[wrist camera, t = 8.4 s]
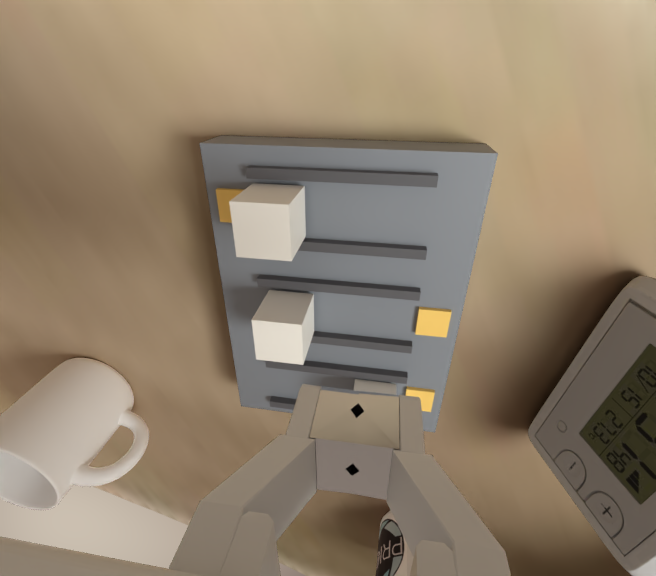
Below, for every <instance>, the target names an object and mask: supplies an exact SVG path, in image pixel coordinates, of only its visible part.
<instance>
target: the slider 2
mask: <svg viewBox="0 0 656 576" xmlns="http://www.w3.org/2000/svg"><path fill="white" fill-rule="evenodd" d="M252 329H253V337H254V346H255V354H256V360H265V361H273V362H282V363H290V364H299V365H303V364H304V361H305V358H306V355H307V352H308V349H309V346H310V343H311V340H312V337H313V333H314V294H310V293H298V292H287V291H276V290H269V291H268V293H267V295H266V296H265V298H264V300H263V301H262V303H261V305H260V306H259V308H258V310H257V311H256V313H255V315H254V316H253V318H252Z"/></svg>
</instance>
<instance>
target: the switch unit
mask: <svg viewBox="0 0 656 576" xmlns="http://www.w3.org/2000/svg"><path fill="white" fill-rule="evenodd" d="M200 149H201V155H202V162H203V168H204V174H205V181H206V187H207V193H208V200H209V206H210V212H211V219H212V225H213V231H214V238H215V244H216V250H217V257H218V263H219V269H220V276H221V282H222V288H223V295H224V301H225V307H226V314H227V320H228V326H229V333H230V339H231V345H232V352H233V358H234V364H235V370H236V377H237V383H238V389H239V396H240V402H241V406H244V407H251V408H259V409H266V410H273V411H281V412H288V413H293V409H294V406H295V403H296V400H297V397H298V393H299V390H300V388H301V386H302V385H303V384H308V385H315V386H325V387H332V388H340V389H347V390H354V383H355V379H359V380H367V381H376V382H384V383H392V384H396V395H398V396H399V395H404V396H414V397H419V398H420V400H421V409H422V421H423V431H429V432H435V430H436V426H437V421H438V417H439V413H440V408H441V404H442V399H443V395H444V390H445V386H446V382H447V377H448V373H449V368H450V364H451V359H452V355H453V350H454V346H455V342H456V337H457V333H458V328H459V324H460V319H461V315H462V311H463V306H464V302H465V297H466V293H467V288H468V284H469V279H470V275H471V271H472V266H473V262H474V257H475V253H476V248H477V244H478V240H479V235H480V231H481V226H482V222H483V217H484V213H485V208H486V204H487V200H488V195H489V191H490V186H491V182H492V177H493V173H494V169H495V164H496V160H497V155H498V153H497V152H495V151H494V150H493V149H492V148H491V147H489V146H488V145H487V144H478V143H446V142H415V141H383V140H352V139H320V138H289V137H257V136H225V135H221V136H218V137H215V138H212V139H210V140H207V141H204V142H201V143H200ZM253 183H259V184H279V185H299V186H305V221H306V237H305V238H304V240H303V242H302V244H301V246H300V247H299V249H298V251H297V253H296V254H295V256H294V258H293V260H292V261H281V260H268V259H255V258H242V257H236V250H235V242H234V235H233V227H232V219H231V211H230V204H229V201H230V200H232V199H233V198H234V197H236V196H237V195H238V194H240V193H241V192H242V191H243V190H245V189H246V188H247V187H249V186H250V185H251V184H253ZM269 290H276V291H287V292H298V293H310V294H314V333H313V337H312V340H311V343H310V346H309V349H308V352H307V355H306V358H305V361H304V364H303V365H299V364H290V363H282V362H273V361H265V360H256V354H255V346H254V337H253V329H252V318H253V316H254V315H255V313H256V311H257V310H258V308H259V306H260V305H261V303H262V301H263V300H264V298H265V296H266V295H267V293H268V291H269Z"/></svg>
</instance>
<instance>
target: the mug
mask: <svg viewBox="0 0 656 576" xmlns="http://www.w3.org/2000/svg"><path fill="white" fill-rule="evenodd" d="M133 404H134V396H133V392H132V389H131V387H130V385H129V383H128V382H127V381H126V379H125V378H124V377H123V376H122V375H121V374H120V373H119V372H117V371H116V370H115V369H113V368H112V367H110V366H109V365H107V364H105V363H103V362H100V361H97V360H94V359H90V358H73V359H69V360H66V361H64V362H63V363H61V364H60V365H58V366H57V367H56V368H55V369H53V370H52V371H51V372H50V373H49V374H47V375H46V376H45V377H44V378H43V379H42V380H40V381H39V382H38V383H37V384H36V385H35V386H33V387H32V388H31V389H30V390H29V391H28V392H26V393H25V394H24V395H23V396H22V397H21V398H19V399H18V400H17V401H16V402H15V403H14V404H13V405H11V406H10V407H9V408H8V409H7V410H6V411H4V412H3V413H2V414H1V415H0V498H1V499H2V500H5V501H7V502H9V503H12V504H14V505H17V506H20V507H24V508H28V509H33V510H49V509H52V508H54V507H56V506H57V505H58V504H59V503H60V502H61V500H62V499H63V497H64V496H65V495H66V494H67V492H68V491H69V490H70V488H71V487H72V486H73V485H76V486H84V487H91V486H99V485H104V484H107V483H110V482H112V481H114V480H116V479H118V478H120V477H122V476H123V475H125V474H126V473H127V472H128V471H130V470H131V469H132V468H133V467H134V466H135V465H136V464H137V463H138V461H139V460H140V459H141V457H142V456H143V454H144V452H145V450H146V448H147V445H148V441H149V430H148V426H147V424H146V422H145V421H144V420H143V419H142V418H141V417H140V416H139V415H137V414H135V413H133V412H131V410H132V408H133ZM120 425H122V426H125V427H127V428H129V429H130V430H131V431H132V432H133V434H134V441H133V444H132V446H131V447H130V449H129V450H128V452H127V453H126V454H125V455H124V456H123V457H122V458H121V459H119V460H118V461H117V462H115V463H113V464H111V465H109V466H105V467H91V466H89V465H90V463H91V462H92V461H93V460H94V458H95V457H96V456H97V455H98V453H99V452H100V451H101V449H102V448H103V447H104V446H105V444H106V443H107V442H108V440H109V439H110V438H111V437H112V435H113V434H114V433H115V431H116V430H117V429H118V428H119V426H120Z"/></svg>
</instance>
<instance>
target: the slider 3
mask: <svg viewBox="0 0 656 576" xmlns="http://www.w3.org/2000/svg"><path fill="white" fill-rule="evenodd" d="M354 391H365V392H375V393H384V394H394V395H396V384H392V383H384V382H376V381H367V380H359V379H355V383H354Z"/></svg>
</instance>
